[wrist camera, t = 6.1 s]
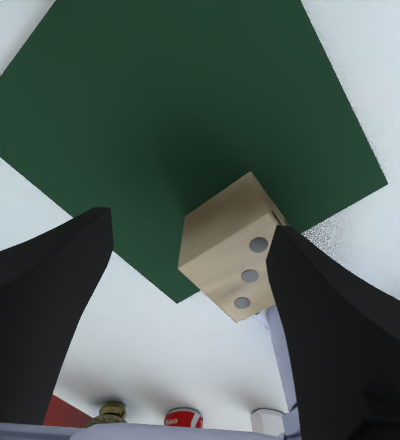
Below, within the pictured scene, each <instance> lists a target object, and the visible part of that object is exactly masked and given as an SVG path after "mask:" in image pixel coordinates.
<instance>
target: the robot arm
mask: <svg viewBox="0 0 400 440" xmlns="http://www.w3.org/2000/svg"><path fill="white" fill-rule="evenodd" d="M113 248H114V241H113V229H112V216H111V208H107V207H97V206H96V207H94V208H92V209H90V210H88V211H86V212H84V213H82V214H80V215H78V216H77V217H75V218H73V219H71V220H69V221H67V222H65V223H64V224H62V225H60V226H58V227H56V228H54V229H52V230H50V231H47V232H45V233H43V234H41V235H39V236H37V237H35V238H33V239H30V240H28V241H26V242H23V243H21V244H18V245H15V246H13V247H10V248H8V249H5V250H2V251H0V440H400V301H399V300H398V299H396V298H394V297H392V296H390V295H388V294H386V293H384V292H383V291H381V290H379V289H377V288H375V287H374V286H372V285H370V284H369V283H367V282H365V281H364V280H362V279H361V278H359V277H357V276H356V275H354V274H353V273H351V272H350V271H348V270H347V269H345V268H344V267H343V266H341V265H340V264H338V263H337V262H336V261H334V260H333V259H332V258H330V257H329V256H328V255H326V254H325V253H324V252H323V251H321V250H320V249H319V248H318V247H316V246H315V245H314V244H313V243H311V242H310V241H309V240H308V239H307V238H305V237H304V236H303V235H302V234H300V233H299V232H298V231H297V230H295V229H294V228H292V227H291V226H284V225H276V229H275V232H274V235H273V238H272V242H271V245H270V248H269V252H268V255H267V258H266V267H267V274H268V280H269V284H270V287H271V290H272V294H273V297H274V300H275V303H276V304H275V305H273V306H271V307H269V308H267V309H265V310H262V311H260V312H258V313H256V314H254V315H253V316H255V317H256V318H257V319H258V320H259V321H260V322H261V323H262V324H263V325H264V326H265V327H266V328H267V329H268V330H269V331H270V334H271V339H272V343H273V347H274V351H275V355H276V360H277V364H278V368H279V372H280V376H281V381H282V385H283V389H284V393H285V397H286V402H287V406H288V410H289V413H287V414H285V415H282V421H283V425H284V430H285V432H284V433H281V434H280V435H279V436H278V437H276V436H271V435H266V434H262V433H257V432H245V431H231V430H217V429H203V428H189V427H175V426H162V425H148V424H134V423H108V424H95V425H93V426H90V427H88V428H86V429H85V428H84V429H83V428H70V427H56V426H42V425H43V421H44V418H45V415H46V412H47V409H48V405H49V402H50V399H51V396H52V393H53V390H54V388H55V385H56V382H57V379H58V376H59V373H60V370H61V367H62V364H63V362H64V359H65V356H66V354H67V351H68V348H69V346H70V343H71V340H72V338H73V335H74V333H75V330H76V328H77V325H78V323H79V320H80V318H81V316H82V313H83V311H84V309H85V307H86V305H87V303H88V302H89V300H90V298H91V296H92V294H93V292H94V290H95V288H96V286H97V284H98V283H99V281H100V279H101V277H102V275H103V273H104V271H105V269H106V267H107V265H108V262H109V259H110V257H111V254H112V251H113Z"/></svg>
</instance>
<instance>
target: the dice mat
mask: <svg viewBox="0 0 400 440" xmlns="http://www.w3.org/2000/svg"><path fill="white" fill-rule="evenodd" d="M0 157H1V158H2V159H3V160H4V161H6V162H7V163H8V164H9V165H10V166H12V167H13V168H14V169H15V170H16V171H18V172H19V173H20V174H21V175H22V176H24V177H25V178H26V179H27V180H28V181H30V182H31V183H32V184H33V185H34V186H36V187H37V188H38V189H39V190H41V191H42V192H43V193H44V194H45V195H47V196H48V197H49V198H50V199H51V200H53V201H54V202H55V203H56V204H57V205H59V206H60V207H61V208H62V209H63V210H65V211H66V212H67V213H68V214H69V215H71V216H72V217H73V218H75V217H77V216H78V215H80V214H82V213H84V212H86V211H88V210H90V209H92V208H94V207H96V206H97V207H107V208H111V216H112V229H113V241H114V248H113V251H114V252H115V253H116V254H118V255H119V256H120V257H121V258H122V259H124V260H125V261H126V262H127V263H128V264H130V265H131V266H132V267H133V268H135V269H136V270H137V271H138V272H139V273H141V274H142V275H143V276H144V277H145V278H147V279H148V280H149V281H150V282H151V283H153V284H154V285H155V286H156V287H157V288H159V289H160V290H161V291H162V292H163V293H165V294H166V295H167V296H168V297H169V298H171V299H172V300H173V301H174V302H175V303H179V302H181V301H183V300H184V299H186V298H188V297H190V296H191V295H193V294H195V293H197V292H198V291H200V289H199V288H198V287H197V286H196V285H195V284H194V283H193V282H192V281H191V280H189V279H188V278H187V277H186V276H185V275H184V274H183V273H182V272H181V271H180V270H179V269H178V262H179V255H180V248H181V241H182V234H183V226H184V219H185V216H186V215H188V214H189V213H191V212H192V211H194V210H195V209H197V208H198V207H199V206H201V205H202V204H204V203H205V202H207V201H208V200H210V199H211V198H212V197H214V196H215V195H217V194H218V193H220V192H221V191H223V190H224V189H225V188H227V187H228V186H230V185H231V184H233V183H234V182H236V181H237V180H238V179H240V178H241V177H243V176H244V175H246V174H247V173H248V172H252V174H253V175H254V177H255V178H256V179H257V181H258V182H259V183H260V185H261V186H262V188H263V189H264V190H265V192H266V193H267V194H268V196H269V197H270V199H271V200H272V201H273V203H274V204H275V205H276V207H277V208H278V210H279V211H280V212H281V214H282V215H283V216H284V218H285V219H286V221H287V222H288V223H289V225H290V226H291V227H292V228H294V229H295V230H297V231H298V232H299V233H300V234H301V233H303V232H304V231H306V230H308V229H310V228H311V227H313V226H315V225H317V224H318V223H320V222H322V221H324V220H326V219H327V218H329V217H331V216H333V215H334V214H336V213H338V212H340V211H341V210H343V209H345V208H347V207H348V206H350V205H352V204H354V203H356V202H357V201H359V200H361V199H363V198H364V197H366V196H368V195H370V194H371V193H373V192H375V191H377V190H378V189H380V188H382V187H384V186H386V185H387V184H388V182H387V180H386V178H385V176H384V174H383V172H382V170H381V168H380V166H379V163H378V161H377V159H376V157H375V155H374V153H373V151H372V149H371V147H370V145H369V143H368V141H367V138H366V136H365V134H364V132H363V130H362V128H361V126H360V124H359V122H358V120H357V118H356V116H355V113H354V111H353V109H352V107H351V105H350V103H349V101H348V99H347V97H346V95H345V93H344V90H343V88H342V86H341V84H340V82H339V80H338V78H337V76H336V74H335V72H334V70H333V68H332V65H331V63H330V61H329V59H328V57H327V55H326V53H325V51H324V49H323V47H322V45H321V42H320V40H319V38H318V36H317V34H316V32H315V30H314V28H313V26H312V24H311V22H310V20H309V17H308V15H307V13H306V11H305V9H304V7H303V5H302V3H301V1H300V0H56V1H55V2H54V4H53V5H52V7H51V8H50V9H49V11H48V12H47V13H46V15H45V16H44V18H43V19H42V20H41V22H40V23H39V24H38V26H37V27H36V29H35V30H34V31H33V33H32V34H31V35H30V37H29V38H28V40H27V41H26V42H25V44H24V45H23V46H22V48H21V49H20V51H19V52H18V53H17V55H16V56H15V57H14V59H13V60H12V62H11V63H10V64H9V66H8V67H7V68H6V70H5V71H4V72H3V74H2V75H1V77H0Z"/></svg>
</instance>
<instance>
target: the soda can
mask: <svg viewBox="0 0 400 440" xmlns="http://www.w3.org/2000/svg"><path fill="white" fill-rule="evenodd" d="M164 426H175V427H189V428H203V418H202V417H201V416H200V414H199V413H198V412H197V411H195V410H192V409H186V408H180V409H175V410H172V411H171V412H169V414H168V415H167V416H166V418H165V421H164Z"/></svg>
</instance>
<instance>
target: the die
mask: <svg viewBox="0 0 400 440" xmlns="http://www.w3.org/2000/svg"><path fill="white" fill-rule="evenodd" d="M276 225H284V226H290V225H289V223H288V222H287V221H286V219H285V218H284V216H283V215H282V214H281V212H280V211H279V210H278V208H277V207H276V205H275V204H274V203H273V201H272V200H271V199H270V197H269V196H268V194H267V193H266V192H265V190H264V189H263V188H262V186H261V185H260V183H259V182H258V181H257V179H256V178H255V177H254V175H253V174H252V172H248V173H247V174H246V175H244V176H243V177H241V178H240V179H238V180H237V181H236V182H234V183H233V184H231V185H230V186H228V187H227V188H225V189H224V190H223V191H221V192H220V193H218V194H217V195H215V196H214V197H212V198H211V199H210V200H208V201H207V202H205V203H204V204H202V205H201V206H199V207H198V208H197V209H195V210H194V211H192V212H191V213H189V214H188V215H186V216H185V219H184V226H183V234H182V241H181V248H180V255H179V262H178V269H179V270H180V271H181V272H182V273H183V274H184V275H185V276H186V277H187V278H188V279H189V280H191V281H192V282H193V283H194V284H195V285H196V286H197V287H198V288H199V289H200V290H201V291H202V292H203V293H205V294H206V295H207V296H208V297H209V298H210V299H211V300H212V301H213V302H214V303H215V304H216V305H218V306H219V307H220V308H221V309H222V310H223V311H224V312H225V313H226V314H227V315H228V316H229V317H230V318H232V319H233V320H234V321H235V322H236V323H237V322H239V321H241V320H244V319H246V318H248V317H250V316H252V315H254V314H256V313H258V312H260V311H262V310H265V309H267V308H269V307H271V306H273V305H275V304H276V303H275V300H274V297H273V294H272V290H271V287H270V284H269V280H268V274H267V267H266V258H267V255H268V252H269V248H270V245H271V242H272V238H273V235H274V232H275V229H276Z"/></svg>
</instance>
